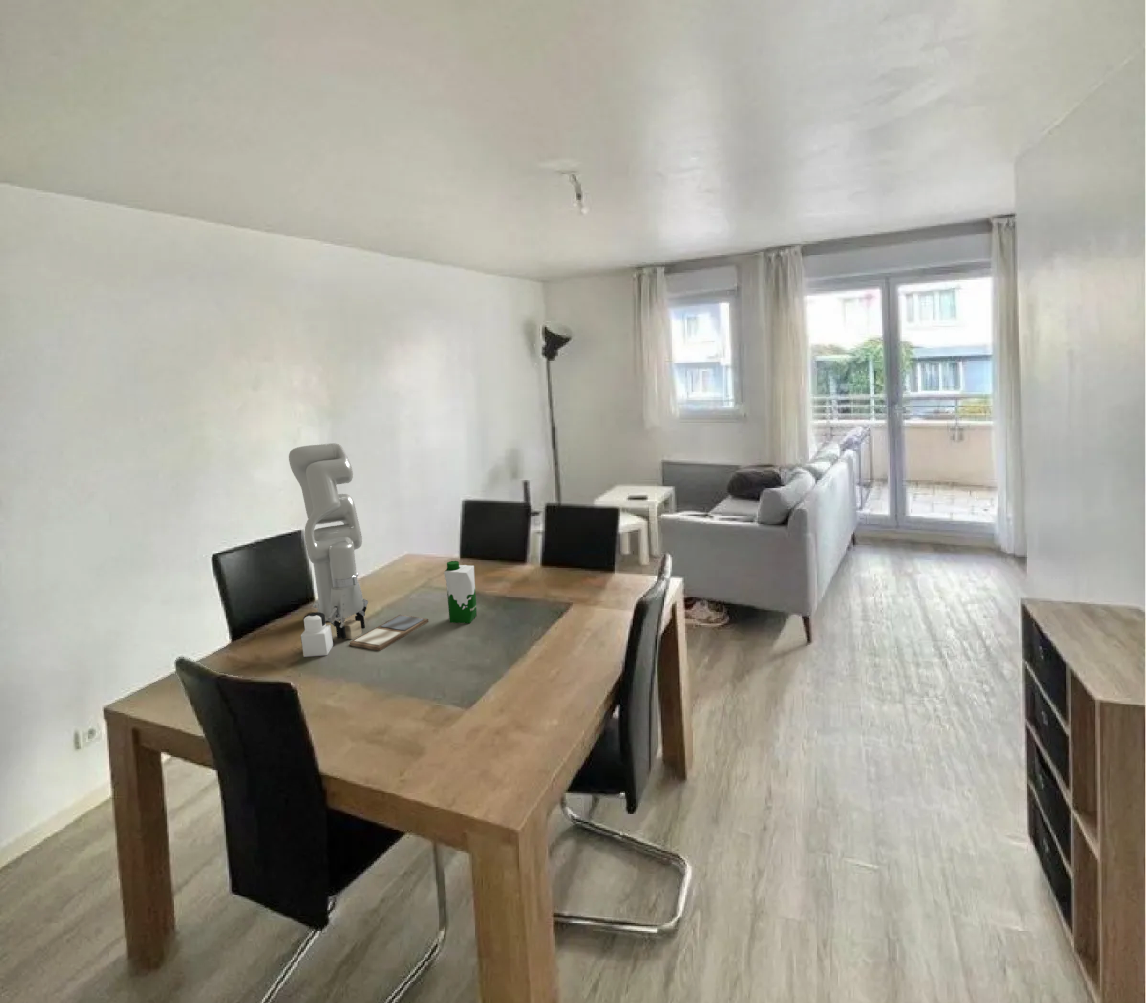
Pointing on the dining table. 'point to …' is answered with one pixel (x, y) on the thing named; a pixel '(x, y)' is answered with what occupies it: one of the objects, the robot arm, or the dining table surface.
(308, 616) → the medicine bottle
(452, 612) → the fresh milk carton
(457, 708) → the dining table surface
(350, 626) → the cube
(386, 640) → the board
